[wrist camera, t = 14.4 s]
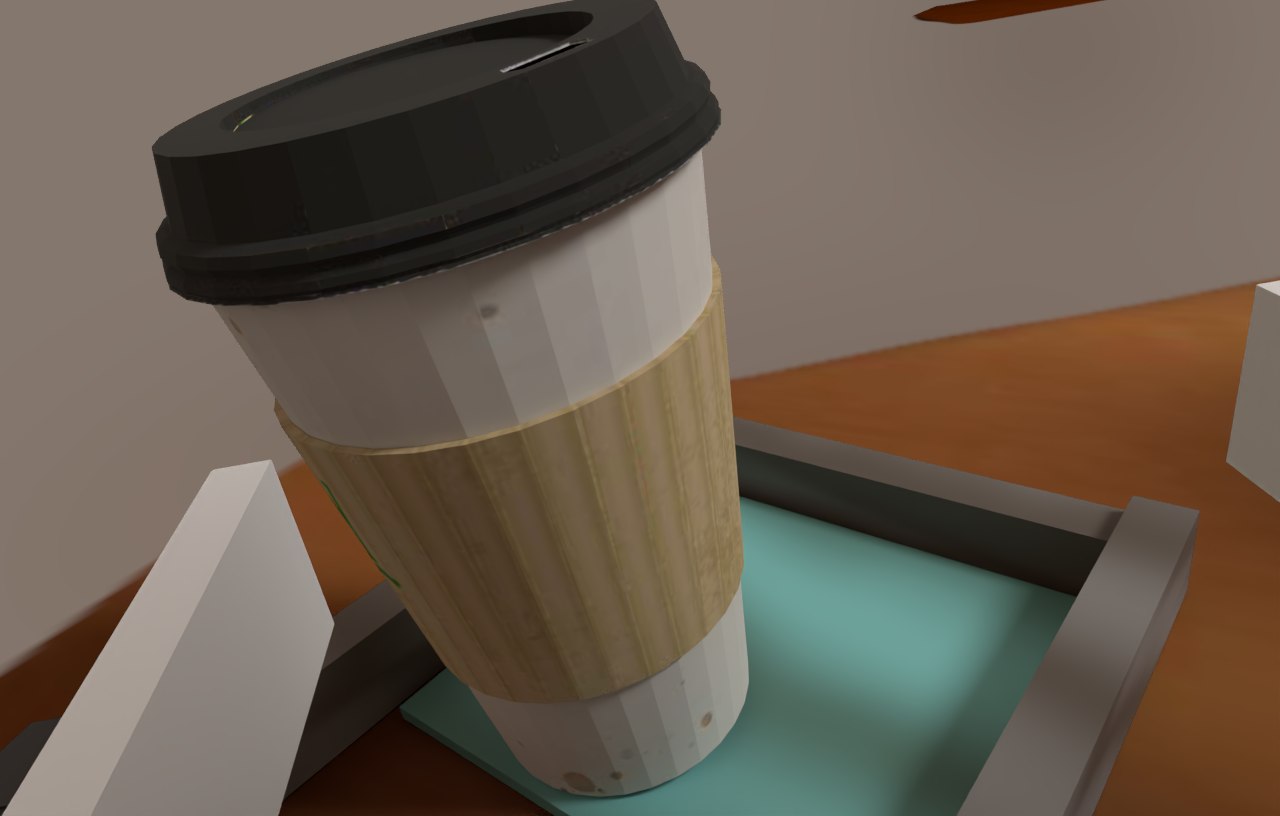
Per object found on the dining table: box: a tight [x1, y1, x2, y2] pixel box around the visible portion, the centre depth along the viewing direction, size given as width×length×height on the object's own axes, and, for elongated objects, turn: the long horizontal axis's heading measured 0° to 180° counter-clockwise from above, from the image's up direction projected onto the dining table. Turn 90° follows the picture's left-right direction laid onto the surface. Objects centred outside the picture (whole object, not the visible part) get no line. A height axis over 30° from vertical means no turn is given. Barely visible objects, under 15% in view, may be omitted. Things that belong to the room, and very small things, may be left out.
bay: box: [283, 417, 1200, 816], centre depth 20 cm, size 27×17×4 cm, turn 141°
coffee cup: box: [152, 0, 749, 797], centre depth 19 cm, size 10×10×15 cm
